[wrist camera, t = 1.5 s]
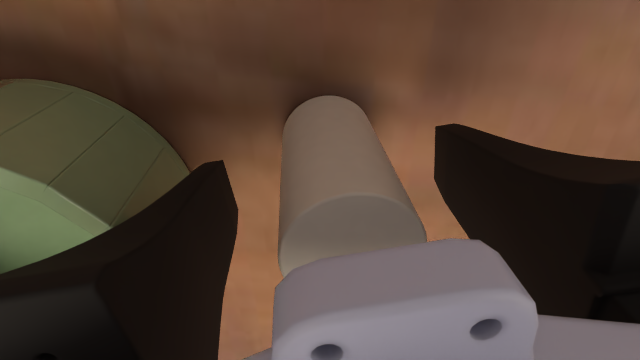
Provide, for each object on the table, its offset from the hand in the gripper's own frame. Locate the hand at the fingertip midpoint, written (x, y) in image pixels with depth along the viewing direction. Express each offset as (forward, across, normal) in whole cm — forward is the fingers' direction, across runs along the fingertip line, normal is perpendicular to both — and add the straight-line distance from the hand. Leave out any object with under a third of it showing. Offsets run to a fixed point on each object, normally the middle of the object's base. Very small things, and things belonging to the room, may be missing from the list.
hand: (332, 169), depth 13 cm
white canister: (+3, 0, 0) cm, 3 cm away
